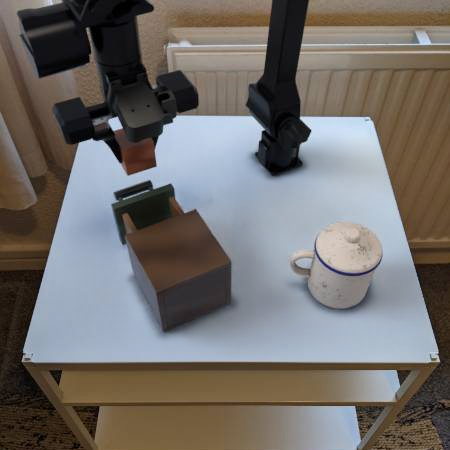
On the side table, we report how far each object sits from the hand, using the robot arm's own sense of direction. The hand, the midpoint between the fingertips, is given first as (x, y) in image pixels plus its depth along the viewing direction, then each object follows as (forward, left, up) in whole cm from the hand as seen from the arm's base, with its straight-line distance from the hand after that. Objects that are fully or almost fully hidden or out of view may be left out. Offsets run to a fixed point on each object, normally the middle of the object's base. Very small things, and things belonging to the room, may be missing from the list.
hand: (135, 156), depth 74 cm
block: (0, 0, -1) cm, 1 cm away
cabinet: (+1, +18, -11) cm, 21 cm away
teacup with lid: (-18, +27, -11) cm, 34 cm away
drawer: (+1, +7, -10) cm, 13 cm away
